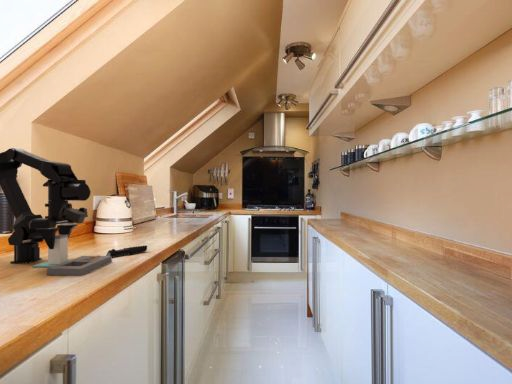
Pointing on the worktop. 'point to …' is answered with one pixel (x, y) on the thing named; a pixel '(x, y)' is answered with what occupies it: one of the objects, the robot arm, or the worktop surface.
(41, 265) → the teal mat
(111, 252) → the electric trimmer
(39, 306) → the worktop surface
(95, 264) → the grey panel
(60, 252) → the beige grey rectangular block
